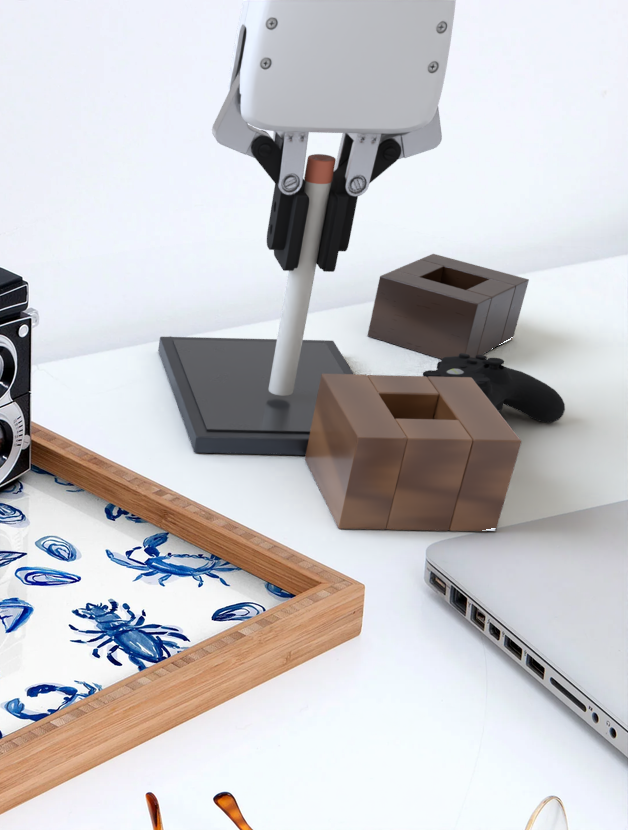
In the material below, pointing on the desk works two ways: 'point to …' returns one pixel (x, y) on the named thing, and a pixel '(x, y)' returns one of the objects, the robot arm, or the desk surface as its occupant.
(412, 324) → the back stand
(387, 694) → the desk surface
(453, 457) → the front stand
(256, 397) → the tablet
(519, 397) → the game controller
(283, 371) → the stylus
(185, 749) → the desk surface
